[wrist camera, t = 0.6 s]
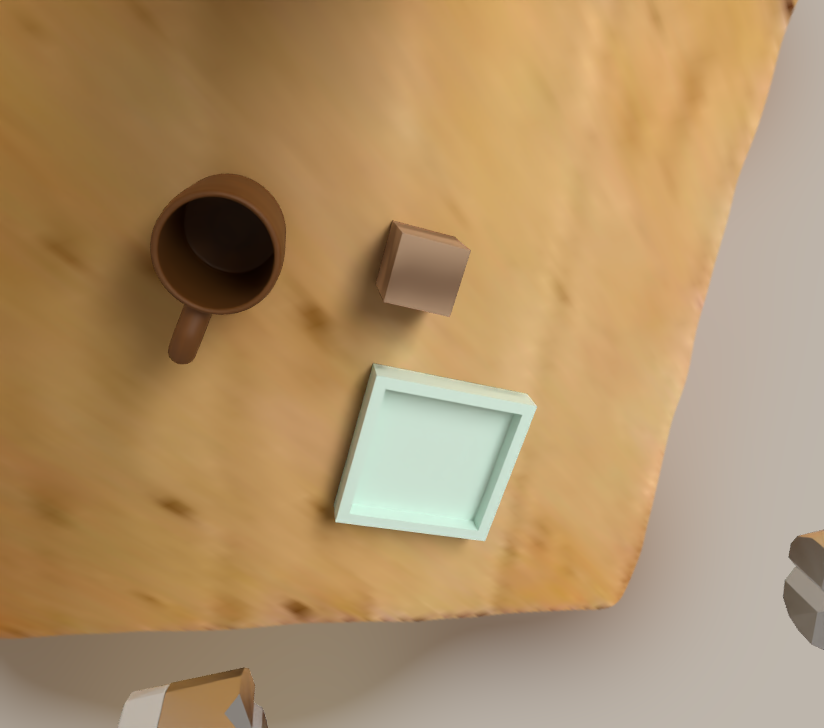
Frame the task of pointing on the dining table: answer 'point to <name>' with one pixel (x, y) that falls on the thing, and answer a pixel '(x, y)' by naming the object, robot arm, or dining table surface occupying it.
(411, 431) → the tray
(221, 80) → the dining table surface
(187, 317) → the mug
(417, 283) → the block
